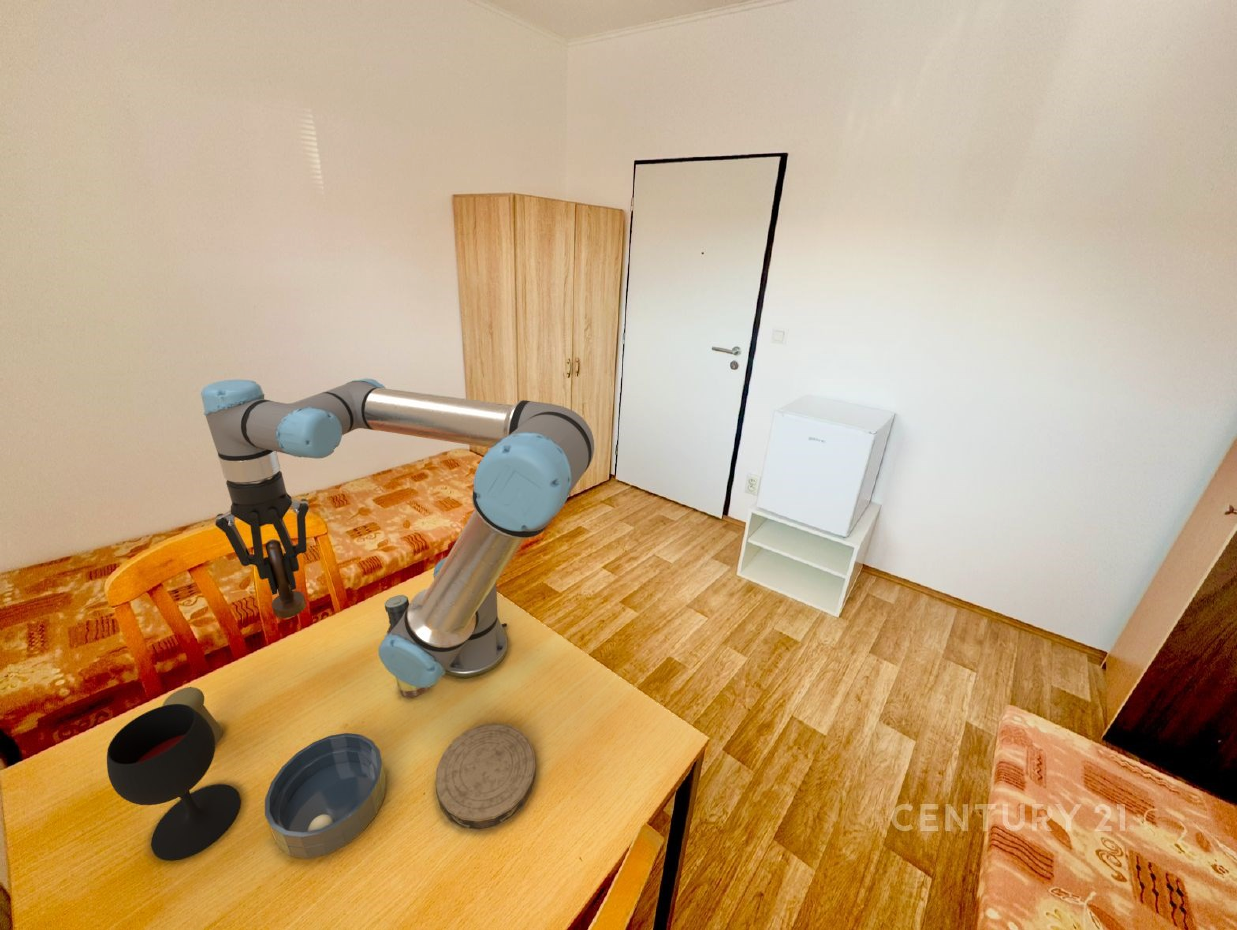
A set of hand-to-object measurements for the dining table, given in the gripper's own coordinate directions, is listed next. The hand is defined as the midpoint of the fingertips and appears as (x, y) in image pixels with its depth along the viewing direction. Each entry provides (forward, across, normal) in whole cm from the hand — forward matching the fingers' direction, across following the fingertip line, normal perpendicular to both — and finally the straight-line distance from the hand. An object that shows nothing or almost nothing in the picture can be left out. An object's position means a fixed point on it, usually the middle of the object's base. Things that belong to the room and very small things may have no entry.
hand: (284, 587), depth 90 cm
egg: (+17, 0, +36) cm, 40 cm away
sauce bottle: (+20, -18, +16) cm, 31 cm away
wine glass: (+20, +15, +25) cm, 35 cm away
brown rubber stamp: (+6, 0, -1) cm, 6 cm away
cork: (+20, +16, +10) cm, 27 cm away
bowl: (+20, -2, +32) cm, 38 cm away
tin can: (+20, -24, +40) cm, 51 cm away
